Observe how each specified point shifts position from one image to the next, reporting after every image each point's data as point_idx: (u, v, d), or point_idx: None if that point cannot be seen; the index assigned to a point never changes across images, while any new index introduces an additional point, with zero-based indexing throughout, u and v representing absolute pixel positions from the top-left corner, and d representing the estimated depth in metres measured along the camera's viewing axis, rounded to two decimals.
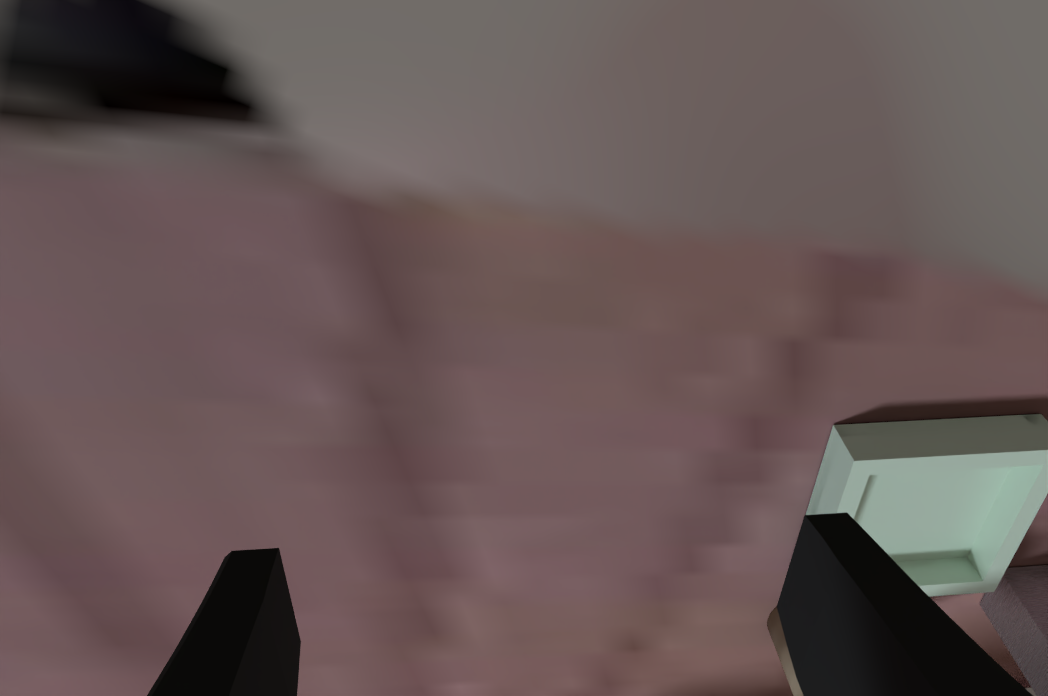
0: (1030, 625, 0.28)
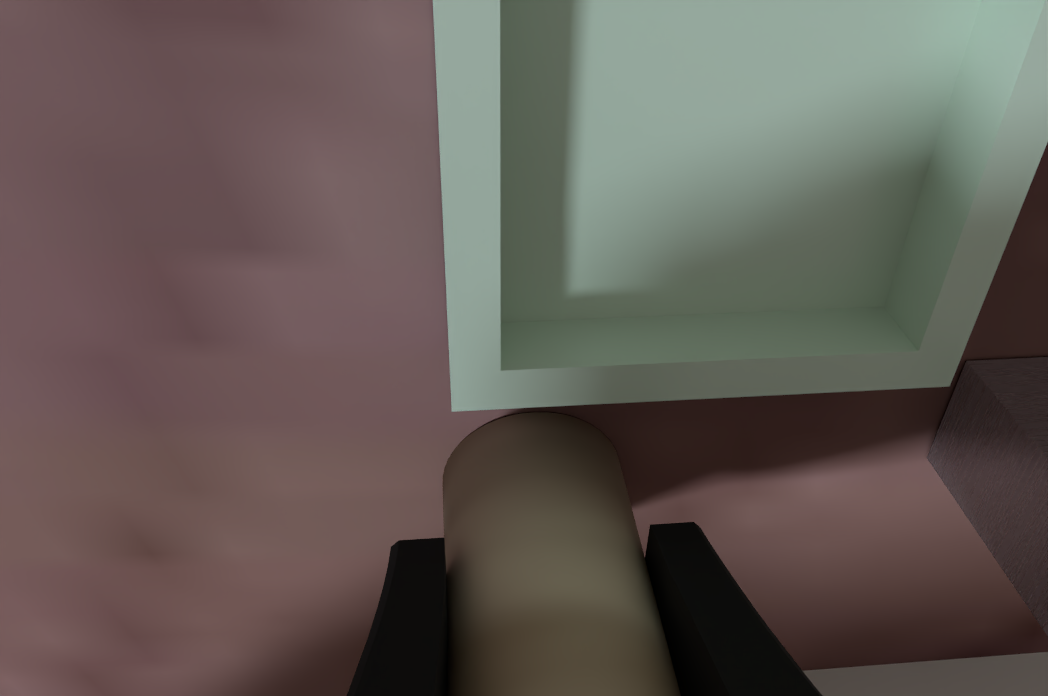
0: (1041, 475, 0.11)
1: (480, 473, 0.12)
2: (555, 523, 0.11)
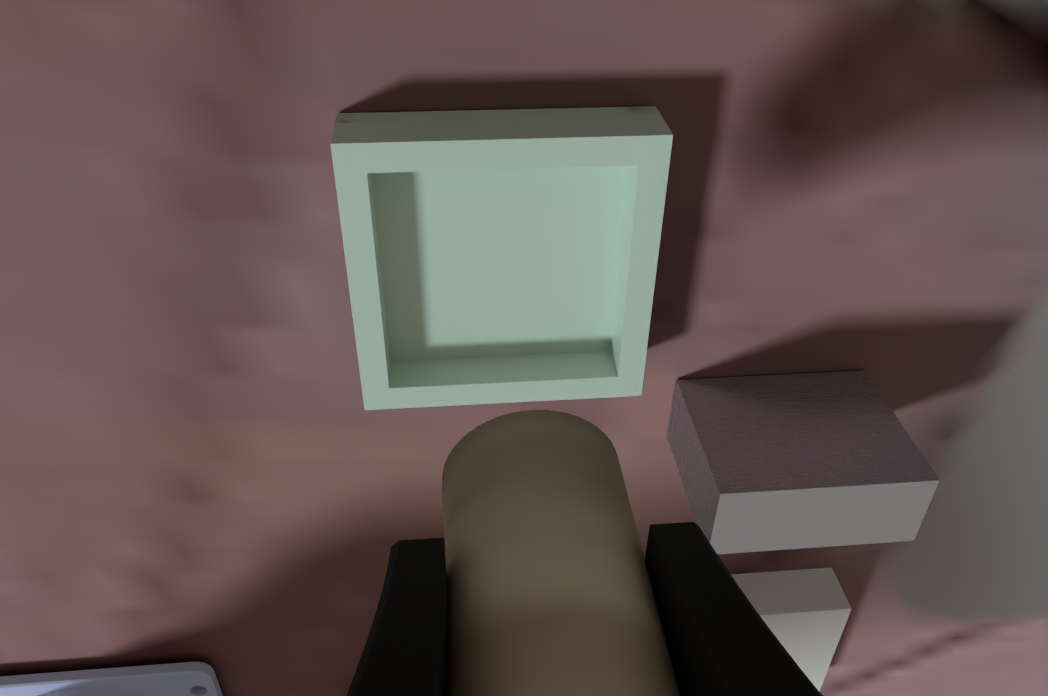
0: (696, 445, 0.20)
1: (480, 471, 0.12)
2: (555, 520, 0.11)
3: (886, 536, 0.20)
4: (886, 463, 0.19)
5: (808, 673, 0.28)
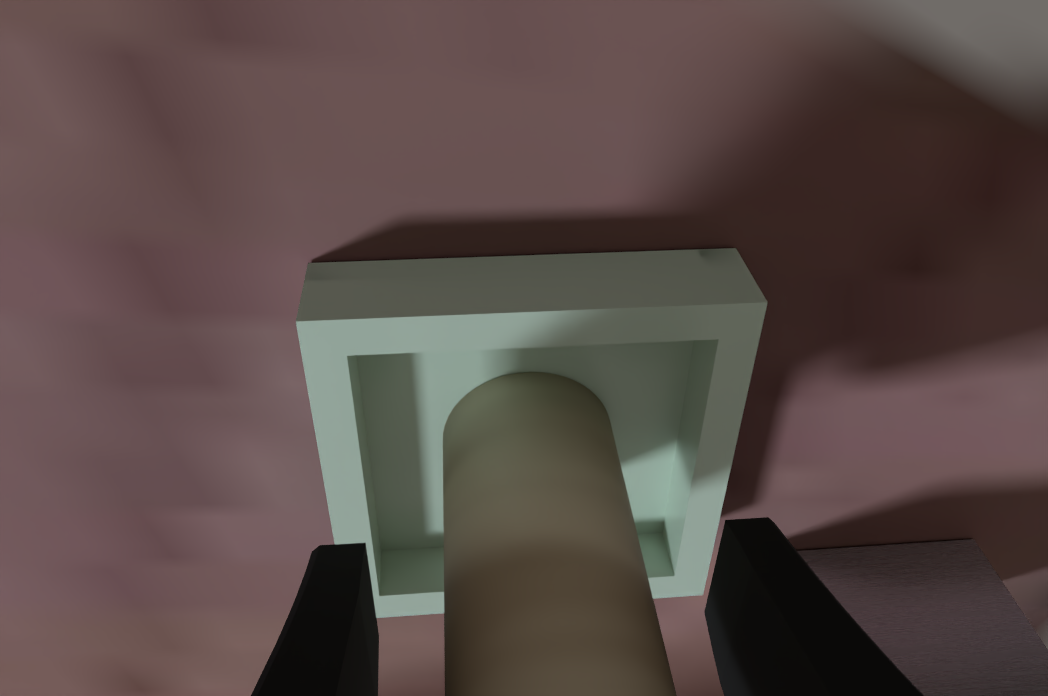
0: None
1: (478, 427, 0.13)
2: (547, 471, 0.12)
3: None
4: (1021, 691, 0.15)
5: None
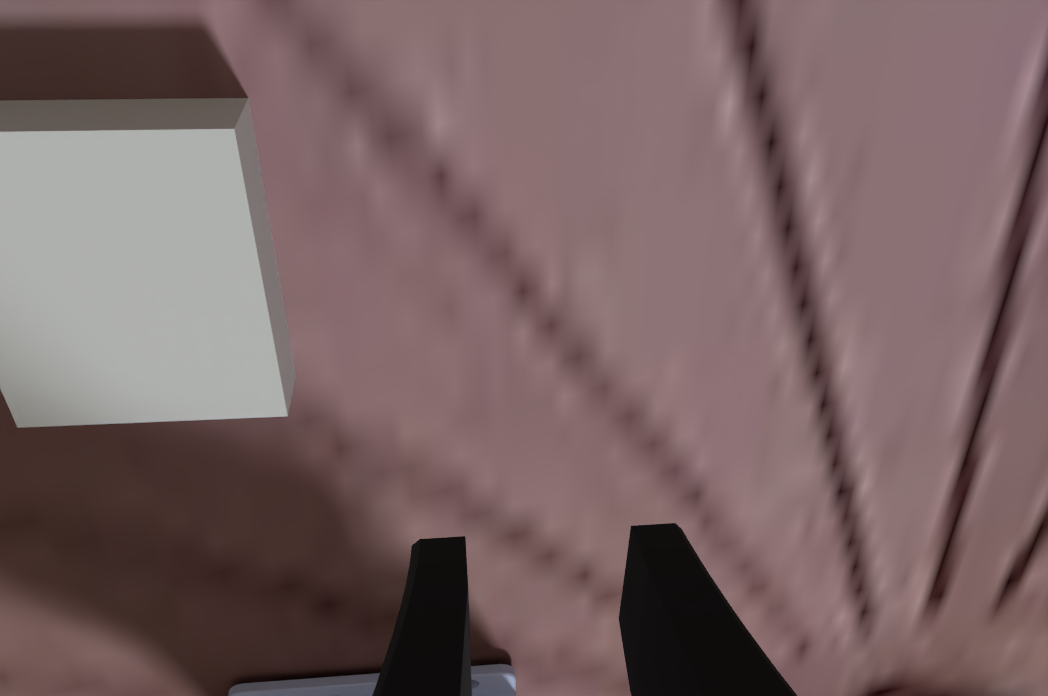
0: None
1: None
2: None
3: None
4: None
5: (90, 162, 0.16)
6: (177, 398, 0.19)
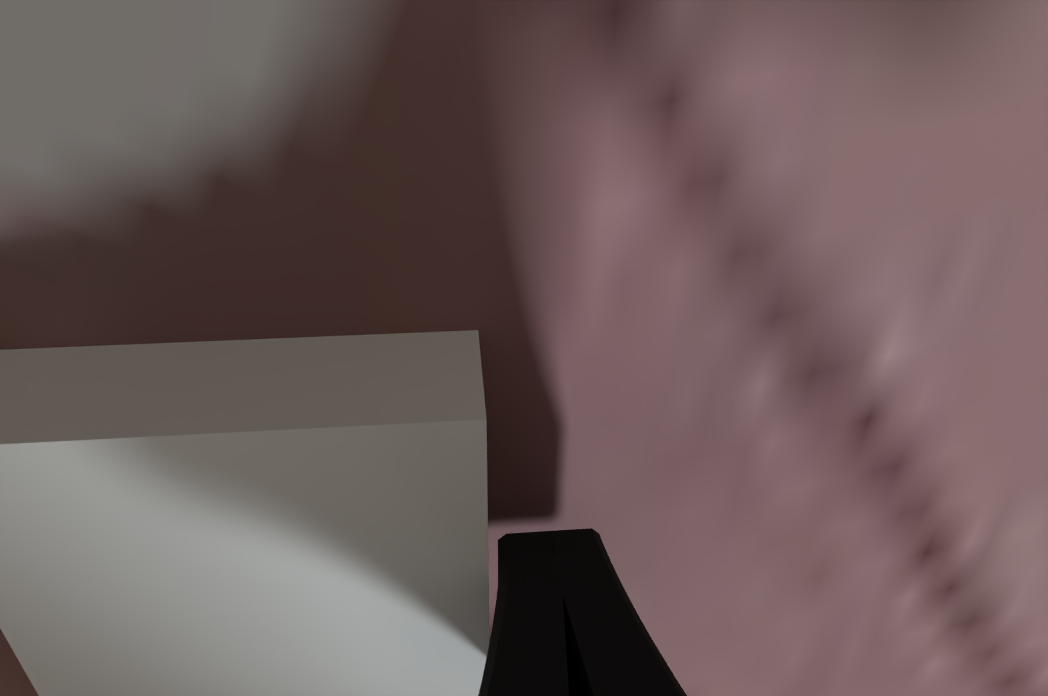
0: None
1: None
2: None
3: None
4: None
5: (240, 474, 0.09)
6: None
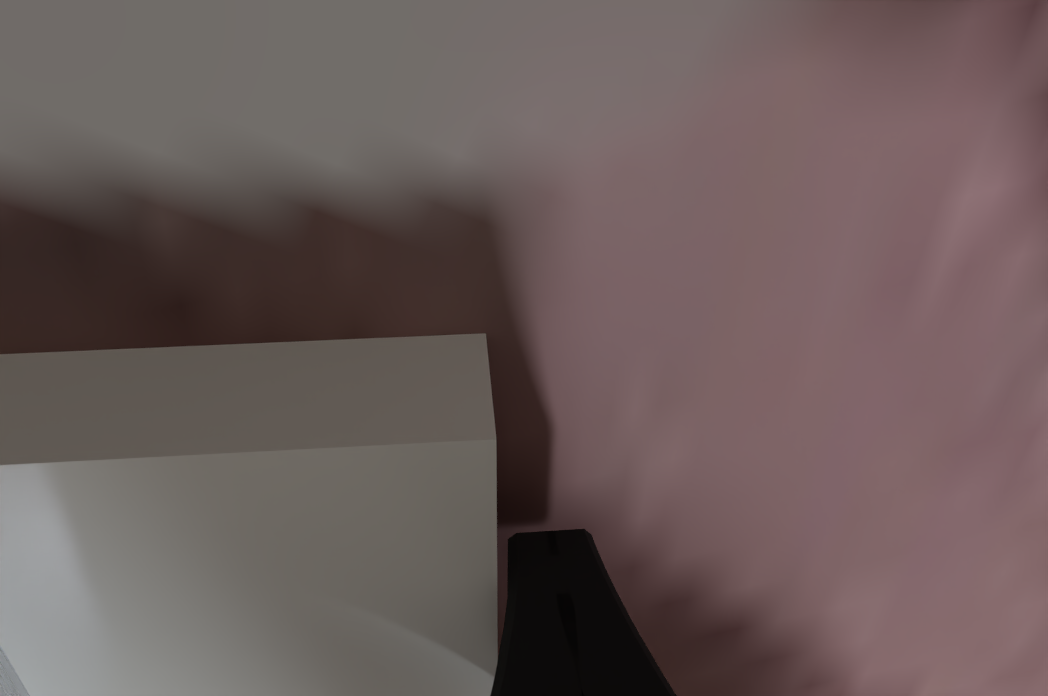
0: None
1: None
2: None
3: None
4: None
5: (245, 495, 0.09)
6: None
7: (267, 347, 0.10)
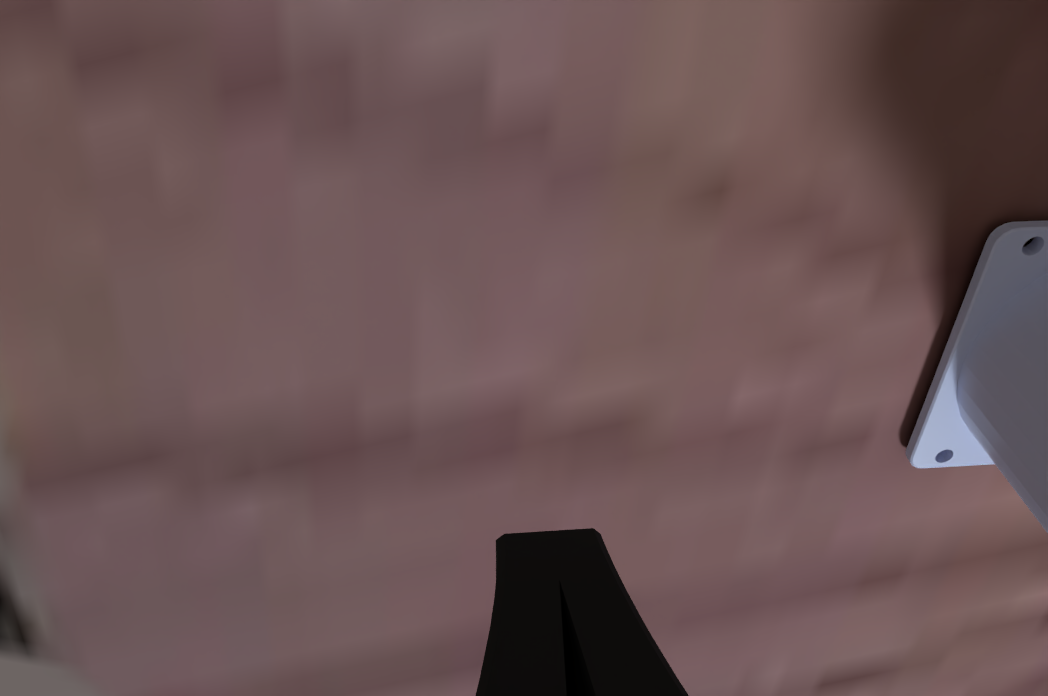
0: None
1: None
2: None
3: None
4: None
5: None
6: None
7: None
